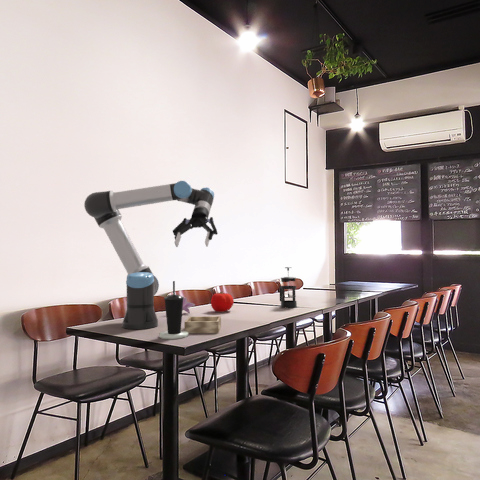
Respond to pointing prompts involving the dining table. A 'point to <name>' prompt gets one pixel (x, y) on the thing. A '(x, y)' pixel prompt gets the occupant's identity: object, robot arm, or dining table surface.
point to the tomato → (221, 302)
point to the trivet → (173, 335)
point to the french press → (282, 293)
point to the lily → (186, 305)
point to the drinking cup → (174, 312)
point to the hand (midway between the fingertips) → (191, 244)
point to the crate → (203, 324)
